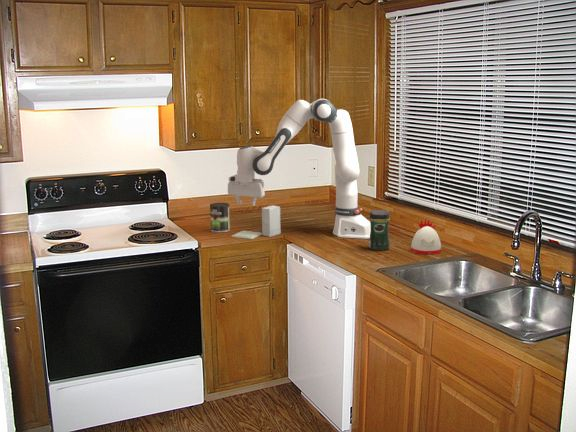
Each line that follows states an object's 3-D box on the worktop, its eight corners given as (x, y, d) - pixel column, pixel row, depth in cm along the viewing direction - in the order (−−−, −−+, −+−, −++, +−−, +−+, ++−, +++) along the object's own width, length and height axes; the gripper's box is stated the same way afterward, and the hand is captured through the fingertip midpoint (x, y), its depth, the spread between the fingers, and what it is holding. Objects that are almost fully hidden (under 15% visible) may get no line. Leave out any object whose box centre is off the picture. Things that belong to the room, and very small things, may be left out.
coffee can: (223, 233, 342) (222, 206, 339) (207, 231, 347) (206, 205, 344) (233, 229, 351) (232, 203, 348) (217, 227, 356) (216, 201, 353)
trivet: (263, 234, 340) (263, 232, 340) (251, 239, 329) (251, 237, 329) (243, 231, 345) (243, 230, 345) (231, 236, 335) (231, 235, 334)
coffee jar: (389, 246, 313) (390, 208, 309) (389, 251, 305) (390, 212, 301) (369, 246, 314) (369, 208, 310) (368, 250, 307) (369, 211, 303)
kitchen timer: (409, 246, 313) (410, 215, 310) (439, 246, 312) (440, 216, 308) (412, 254, 300) (413, 222, 296) (442, 254, 298) (444, 222, 295)
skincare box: (273, 232, 343) (272, 204, 340) (281, 234, 339) (281, 206, 336) (261, 235, 337) (261, 207, 334) (269, 237, 333) (269, 208, 330)
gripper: (266, 178, 329) (267, 205, 332) (232, 175, 338) (232, 201, 341) (260, 180, 323) (261, 207, 326) (225, 177, 332) (226, 204, 335)
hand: (246, 204), depth 334 cm, fingers open, 6 cm apart
